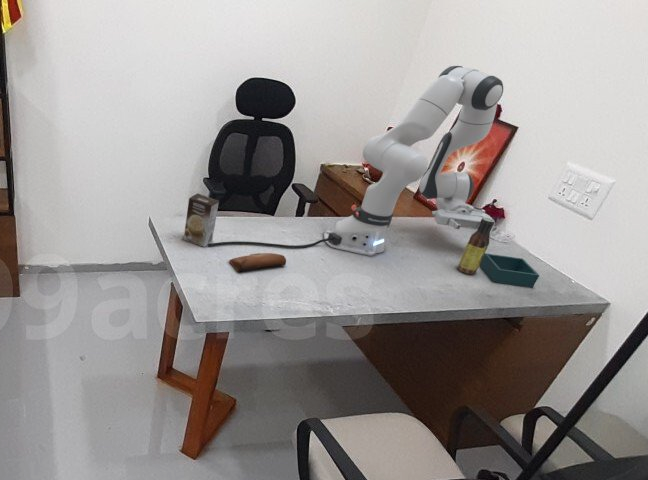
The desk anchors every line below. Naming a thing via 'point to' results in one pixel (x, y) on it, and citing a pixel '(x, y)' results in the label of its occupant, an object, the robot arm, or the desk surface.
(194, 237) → the coffee box
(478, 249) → the sauce bottle
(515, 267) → the teal open box
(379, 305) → the desk surface
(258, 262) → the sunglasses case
